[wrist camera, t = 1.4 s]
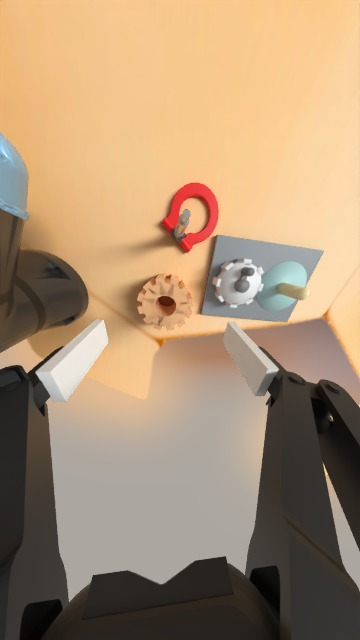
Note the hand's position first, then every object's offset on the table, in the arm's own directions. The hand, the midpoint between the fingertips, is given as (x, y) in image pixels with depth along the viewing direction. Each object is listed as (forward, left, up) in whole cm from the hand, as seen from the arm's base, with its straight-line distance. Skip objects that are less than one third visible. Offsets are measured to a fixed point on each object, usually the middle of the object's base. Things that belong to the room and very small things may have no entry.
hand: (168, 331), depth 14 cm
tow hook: (+3, +14, -17) cm, 22 cm away
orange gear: (-1, -1, -17) cm, 17 cm away
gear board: (+19, +4, -17) cm, 25 cm away
